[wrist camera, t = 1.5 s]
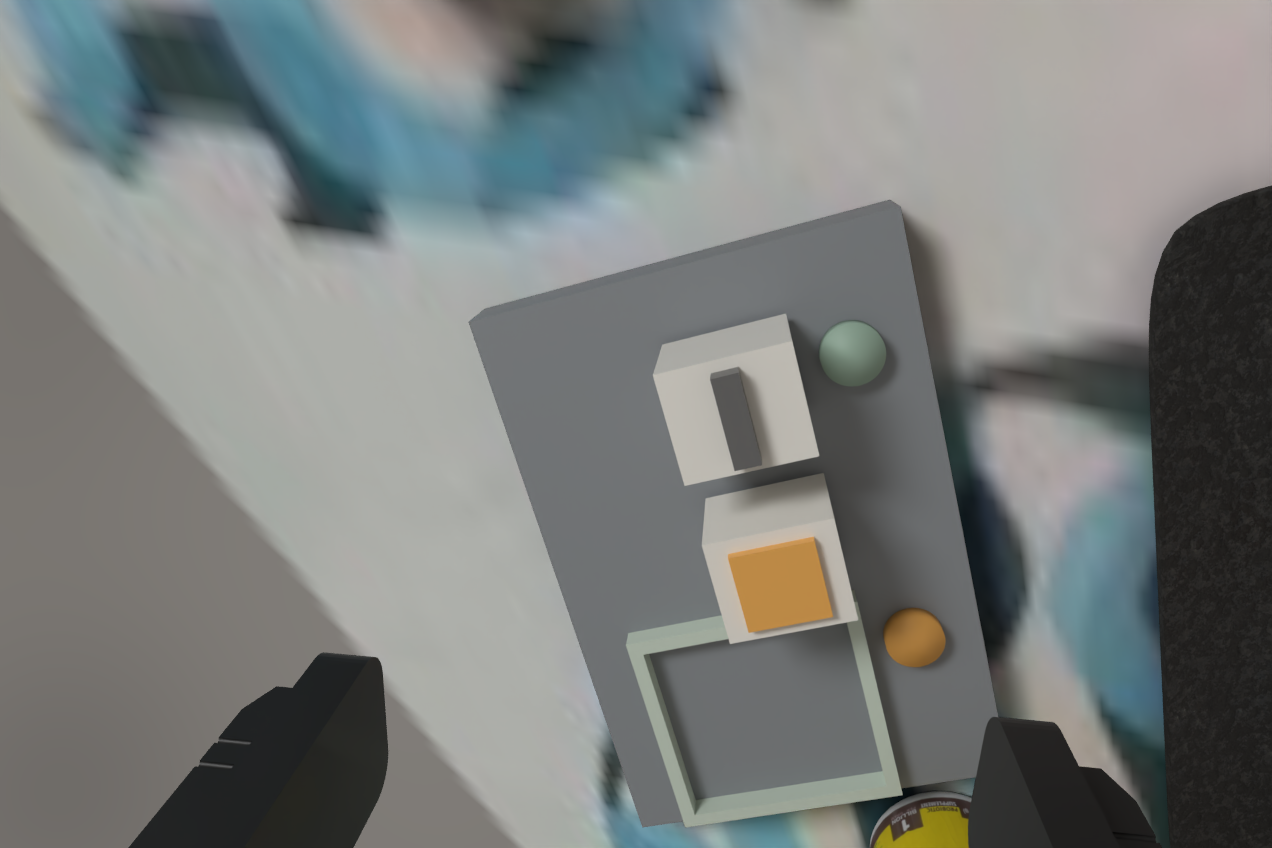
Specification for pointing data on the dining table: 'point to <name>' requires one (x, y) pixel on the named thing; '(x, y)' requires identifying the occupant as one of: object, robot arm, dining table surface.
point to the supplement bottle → (924, 822)
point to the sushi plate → (1215, 520)
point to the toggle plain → (734, 401)
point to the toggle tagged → (776, 559)
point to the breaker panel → (674, 514)
